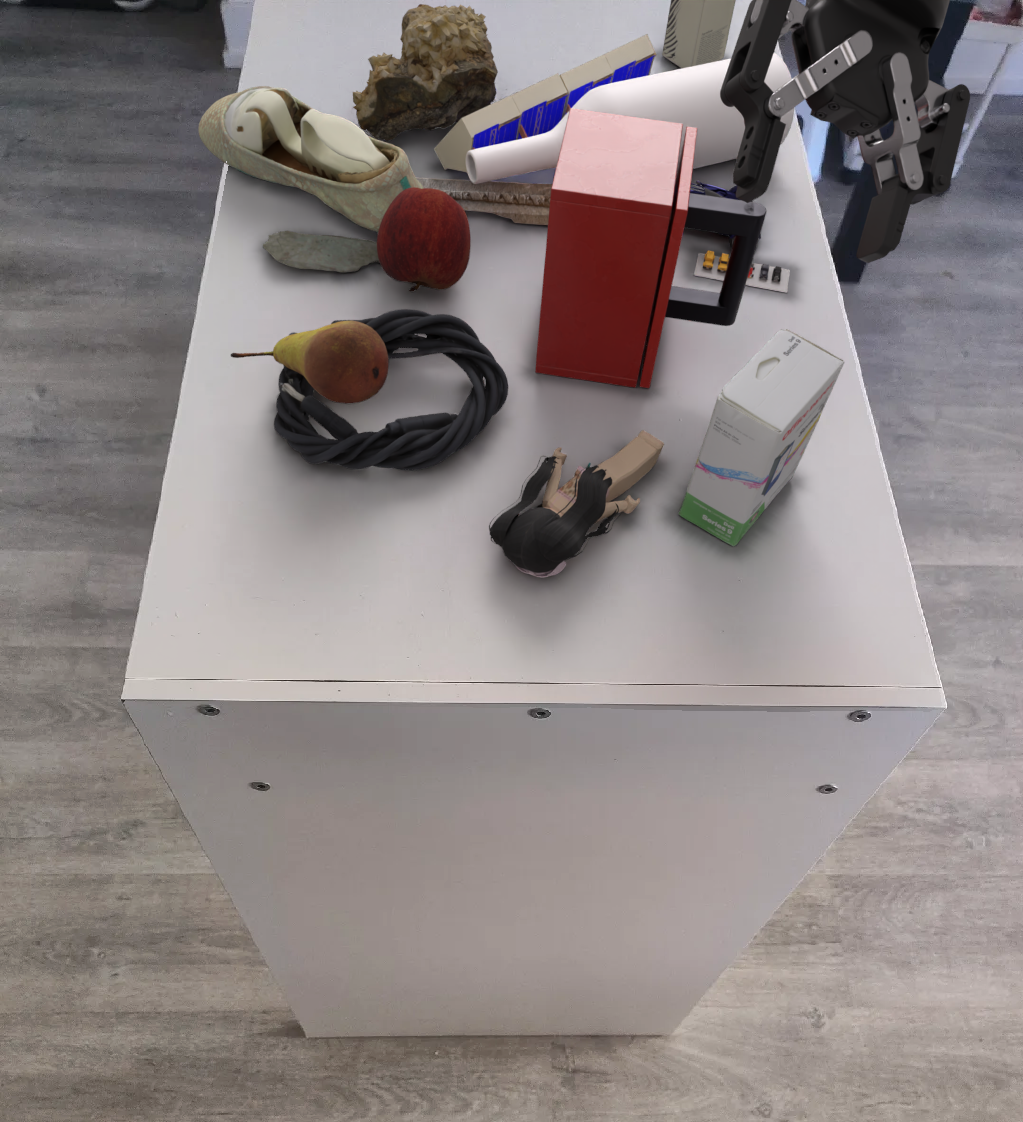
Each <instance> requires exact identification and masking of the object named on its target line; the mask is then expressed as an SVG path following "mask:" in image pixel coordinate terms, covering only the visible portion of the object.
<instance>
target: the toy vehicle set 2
mask: <svg viewBox="0 0 1023 1122" xmlns="http://www.w3.org/2000/svg"><path fill="white" fill-rule="evenodd" d="M697 254H698V255H697V258H696V264H695V268H694V273H693V276H696V277H701V278H707V279H711V280H717V281H722V282H723V280H724V277H725V273H726V269H727V265H728V262H729V258H730V253H724V252H722V253H721V255H720V256H717V255H715V250H714V251H713V250H707V251H706V253H702V252H698V253H697ZM790 273H791V270H790V269H788V268H783V267H782V266H778V265H776V266H771V265H769V264H767V263H763V264H761V263H755V262H752V264H751V268H750V271H749V275H748V278H747V281H746V285H745V286H749V287H755V288H760V289H764V290H771V291H776V292H782V293H787V294H788V290H789V289H788V288H789V282H790V281H789V280H790Z"/></svg>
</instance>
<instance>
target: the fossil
mask: <svg viewBox="0 0 1023 1122" xmlns="http://www.w3.org/2000/svg"><path fill="white" fill-rule="evenodd" d="M416 178H417V180H418V181H419V182H420V183H421V184H422V186H423V188H432V189H438V190H441V191H443V192H445V193H447V194H448V195H449V196H451V197H452V198H453V199H454V200H455V201H456V202H457V203H458V204H459V205H460V206H461V207H462V208H463V209H464V211H469V212H470V211H471V212H481V213H489V214H494V215H497V216H499V217H501V218H506V219H511V221H512V222H513V224H514V223H515V224H526V225H527V224H528V225H540V226H548V219H549V207H550V196H551V187H552V184H551V183H536V182H535V183H532V182H531V183H529V182H517V181H515V182H514V181H497V180H493V181H488V182H484V183H479V184H473V183H472V182H471V180H470V179H454V178H453V179H450V178H435V177H434V178H433V177H432V178H431V177H416Z"/></svg>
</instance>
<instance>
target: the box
mask: <svg viewBox="0 0 1023 1122" xmlns="http://www.w3.org/2000/svg"><path fill="white" fill-rule="evenodd" d="M736 2H737V0H670V5H669V8H668V10H669V11H668V15H667V16H668V17H667V23H666V27H665V28H666V29H665V35H664V42H663V47H662V51H661V52H662V53H661V55H662V56H663V57H664V58H665V59H667V60H668V61H670V62H671V63H673V64H674V65H676V66H677V67H679V68H680V69H682V68H687V67H692V66H697V65H702V64H706V63H711V62H716V61H721V60H724V57H725V54H726V53H725V52H726V49H727V45H728V40H729V35H730V30H731V25H732V20H733V15H734V11H735V7H736V6H735V5H736Z"/></svg>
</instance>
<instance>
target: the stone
mask: <svg viewBox="0 0 1023 1122" xmlns="http://www.w3.org/2000/svg"><path fill="white" fill-rule="evenodd" d="M262 248H263V249H264V250H265V251H266V252H267V253H268V254H269V255H271V257H272V258H273V259H274V260H275V261H277V262H278V263H280V264H283V265H286V266H287V267H290V268H295V269H300V270H317V271H318V270H319V271H325V272H338V273H353V272H358V271H359V270H360V269H361V268H363V267H368V265H371V264H373V263H374V264H375V263H378V264H379V263H380V262H379V259H378V253H377V241H374V240H370V239H367V238H366V239H364V238H356V237H348V236H343V235H336V234H335V235H334V234H333V235H332V234H330V235H329V234H320V235H319V234H312V233H311V234H310V233H301V232H296V231H290V230H281V231H278V232H274V233H272V234H268V238H267V241H265V242H264V243H262Z"/></svg>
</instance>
